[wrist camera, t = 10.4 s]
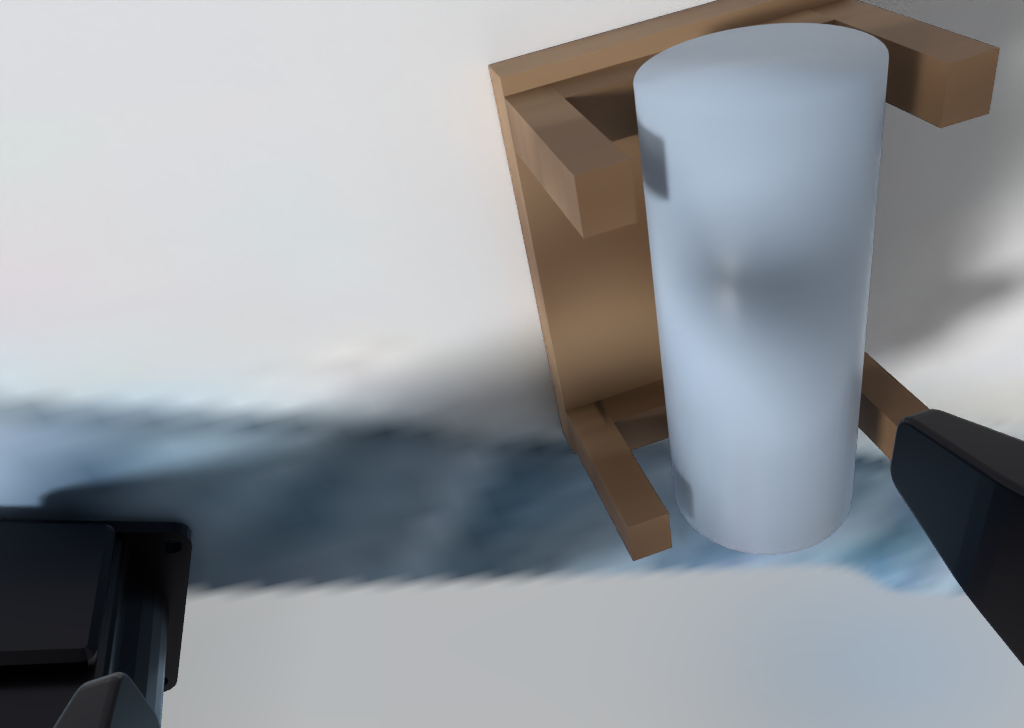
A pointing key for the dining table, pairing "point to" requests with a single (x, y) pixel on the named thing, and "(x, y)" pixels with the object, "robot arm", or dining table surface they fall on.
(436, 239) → the dining table surface
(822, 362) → the cylinder
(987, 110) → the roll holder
